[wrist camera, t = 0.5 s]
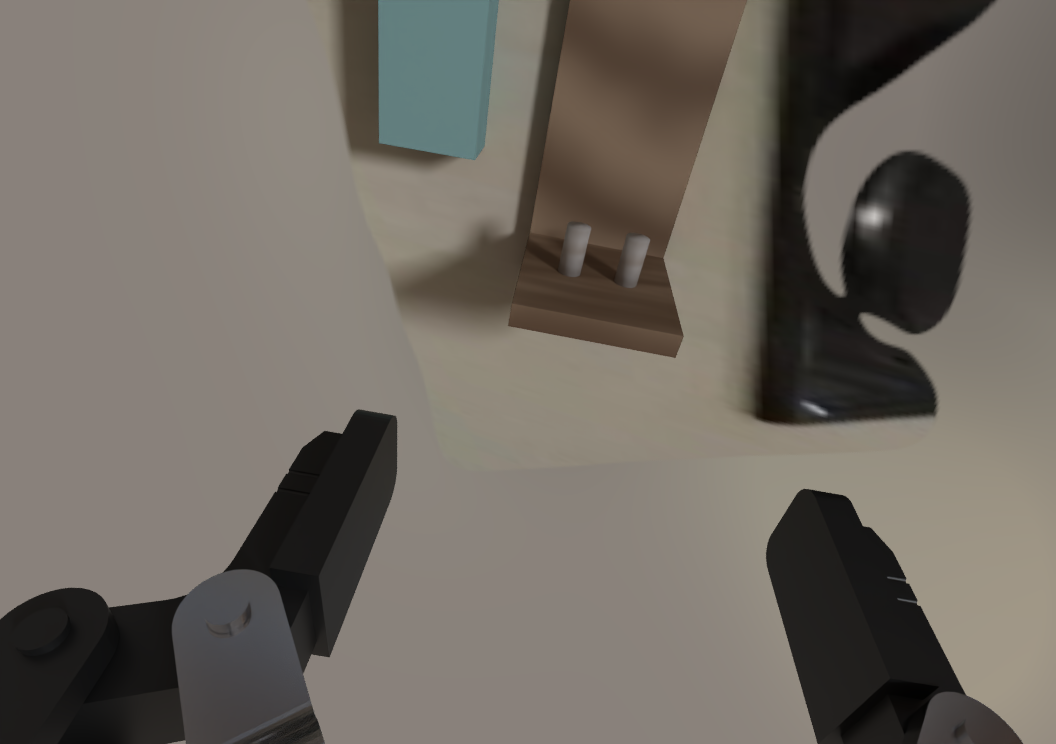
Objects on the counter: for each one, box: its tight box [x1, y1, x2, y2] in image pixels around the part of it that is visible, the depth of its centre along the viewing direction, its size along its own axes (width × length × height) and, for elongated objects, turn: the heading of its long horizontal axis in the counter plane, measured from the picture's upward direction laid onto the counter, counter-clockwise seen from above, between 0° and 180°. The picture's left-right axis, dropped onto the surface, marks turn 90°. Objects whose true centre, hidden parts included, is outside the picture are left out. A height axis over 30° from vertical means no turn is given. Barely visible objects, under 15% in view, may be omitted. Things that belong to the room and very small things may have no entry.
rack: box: [508, 0, 747, 358], centre depth 24 cm, size 26×8×10 cm, turn 171°
